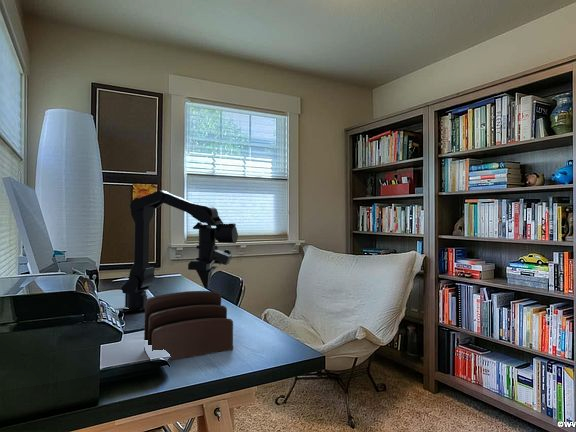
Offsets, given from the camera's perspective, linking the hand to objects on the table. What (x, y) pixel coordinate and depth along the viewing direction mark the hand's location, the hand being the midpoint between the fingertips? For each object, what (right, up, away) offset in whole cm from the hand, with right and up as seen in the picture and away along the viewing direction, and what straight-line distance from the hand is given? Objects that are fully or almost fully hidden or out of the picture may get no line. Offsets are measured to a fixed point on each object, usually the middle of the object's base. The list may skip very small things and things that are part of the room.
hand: (206, 287), depth 129 cm
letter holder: (+3, -9, -35) cm, 37 cm away
